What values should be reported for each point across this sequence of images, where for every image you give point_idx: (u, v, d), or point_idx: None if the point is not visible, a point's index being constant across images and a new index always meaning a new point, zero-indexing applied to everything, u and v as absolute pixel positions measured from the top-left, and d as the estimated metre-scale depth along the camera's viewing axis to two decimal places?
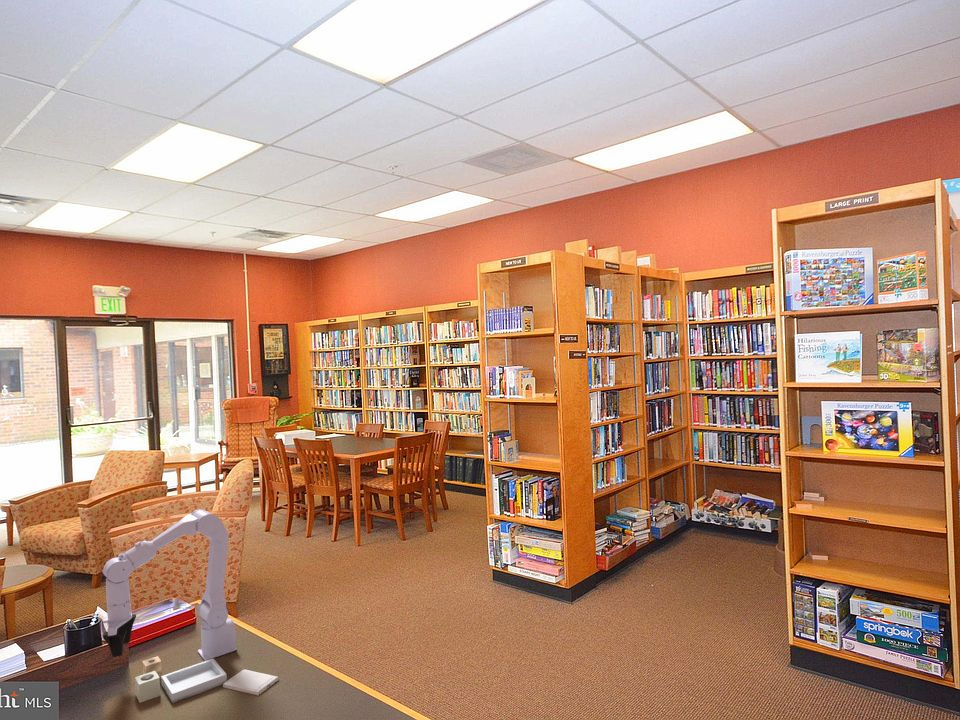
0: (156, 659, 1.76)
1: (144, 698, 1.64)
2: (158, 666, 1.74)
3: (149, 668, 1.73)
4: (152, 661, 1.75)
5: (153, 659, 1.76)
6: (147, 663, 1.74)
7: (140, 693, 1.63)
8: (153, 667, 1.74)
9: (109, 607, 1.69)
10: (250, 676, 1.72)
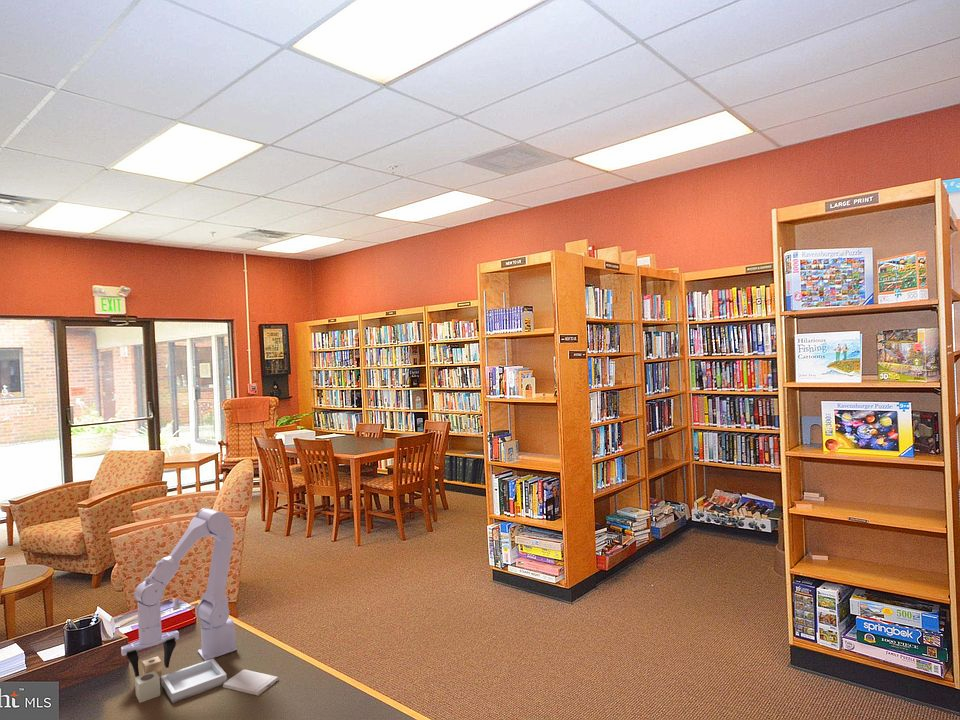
0: (156, 659, 1.76)
1: (144, 698, 1.64)
2: (158, 666, 1.74)
3: (149, 668, 1.73)
4: (152, 661, 1.75)
5: (153, 659, 1.76)
6: (147, 663, 1.74)
7: (140, 693, 1.63)
8: (153, 667, 1.74)
9: None
10: (250, 676, 1.72)
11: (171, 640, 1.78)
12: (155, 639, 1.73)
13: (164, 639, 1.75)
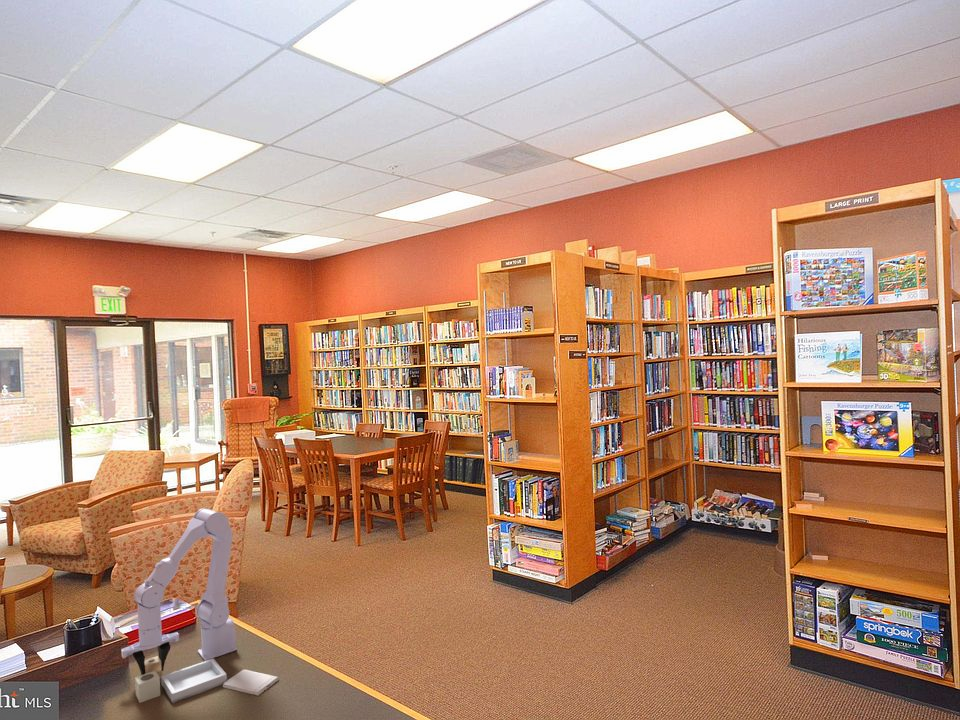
0: (156, 659, 1.76)
1: (144, 698, 1.64)
2: (158, 666, 1.74)
3: (149, 667, 1.73)
4: (152, 661, 1.75)
5: (153, 659, 1.76)
6: (147, 663, 1.74)
7: (140, 693, 1.63)
8: (153, 667, 1.74)
9: None
10: (250, 676, 1.72)
11: None
12: (155, 641, 1.73)
13: (164, 641, 1.75)
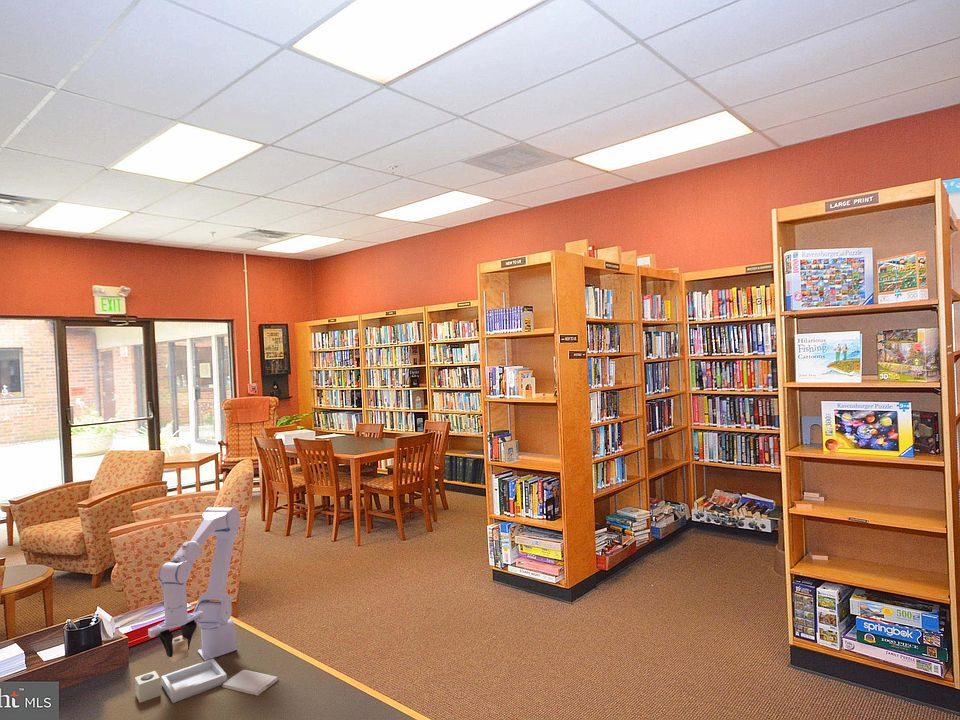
0: (181, 638, 1.73)
1: (144, 698, 1.64)
2: (184, 644, 1.72)
3: (176, 646, 1.70)
4: (178, 640, 1.72)
5: (178, 638, 1.73)
6: (173, 642, 1.71)
7: (140, 693, 1.63)
8: (180, 645, 1.71)
9: None
10: (250, 676, 1.72)
11: (196, 620, 1.76)
12: (183, 619, 1.71)
13: (191, 619, 1.73)
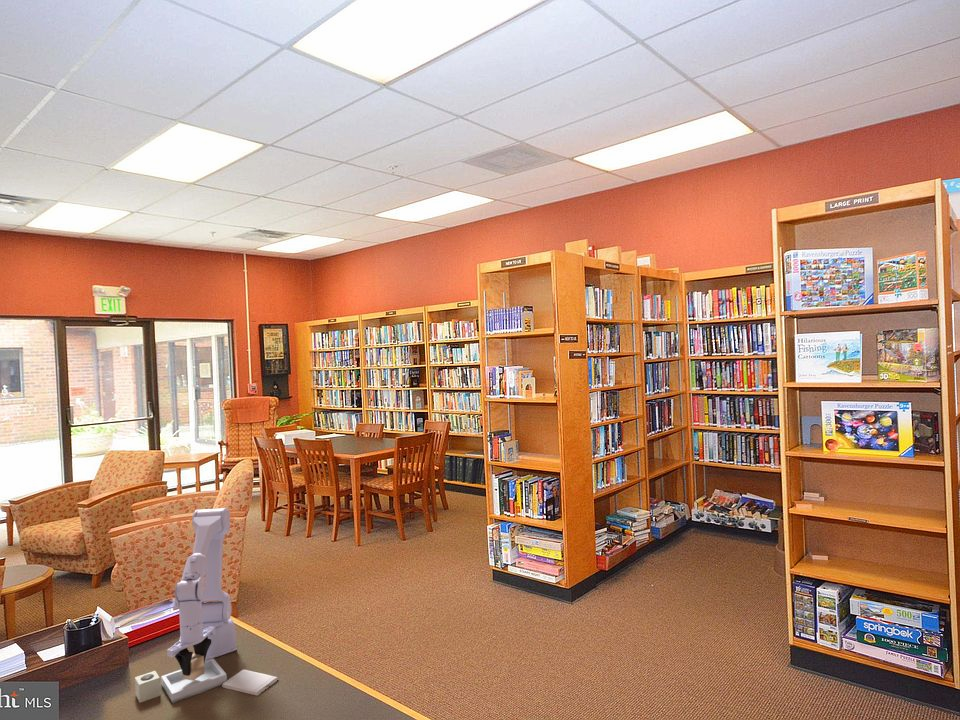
0: (196, 655, 1.72)
1: (144, 698, 1.64)
2: (201, 661, 1.71)
3: (194, 664, 1.69)
4: (193, 657, 1.71)
5: (192, 656, 1.72)
6: None
7: (140, 693, 1.63)
8: (197, 663, 1.70)
9: (180, 626, 1.69)
10: (249, 676, 1.72)
11: (209, 636, 1.75)
12: (201, 635, 1.70)
13: (206, 635, 1.73)
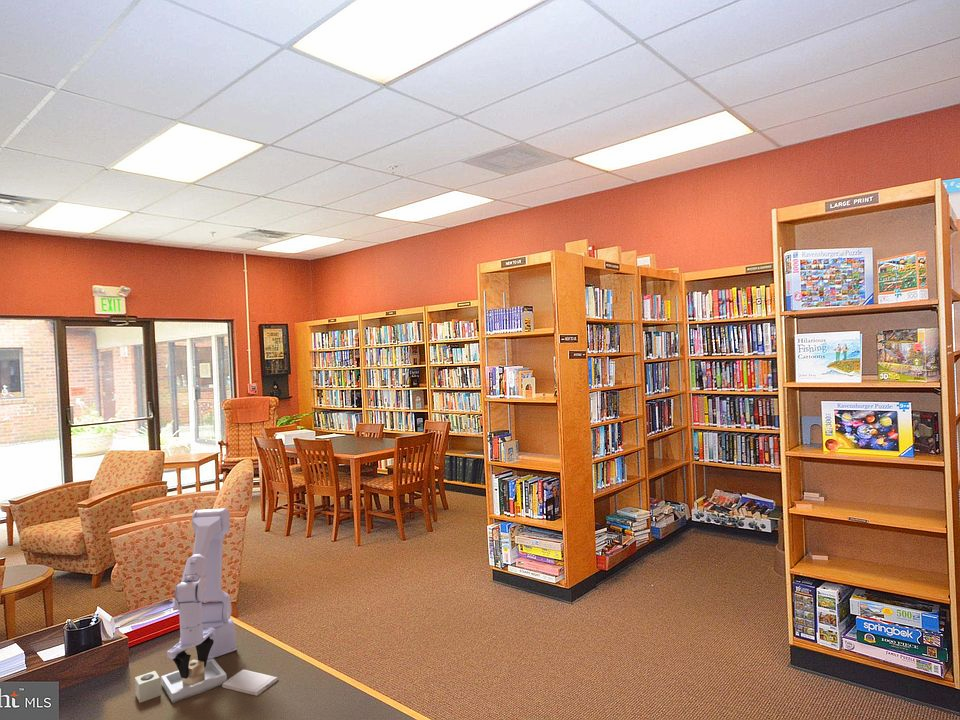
0: (196, 661, 1.72)
1: (144, 698, 1.64)
2: (201, 667, 1.71)
3: (194, 670, 1.69)
4: (194, 664, 1.71)
5: (193, 662, 1.72)
6: (190, 666, 1.70)
7: (140, 693, 1.63)
8: (198, 669, 1.70)
9: (180, 628, 1.69)
10: (249, 676, 1.72)
11: (209, 637, 1.75)
12: (201, 637, 1.70)
13: (206, 636, 1.73)
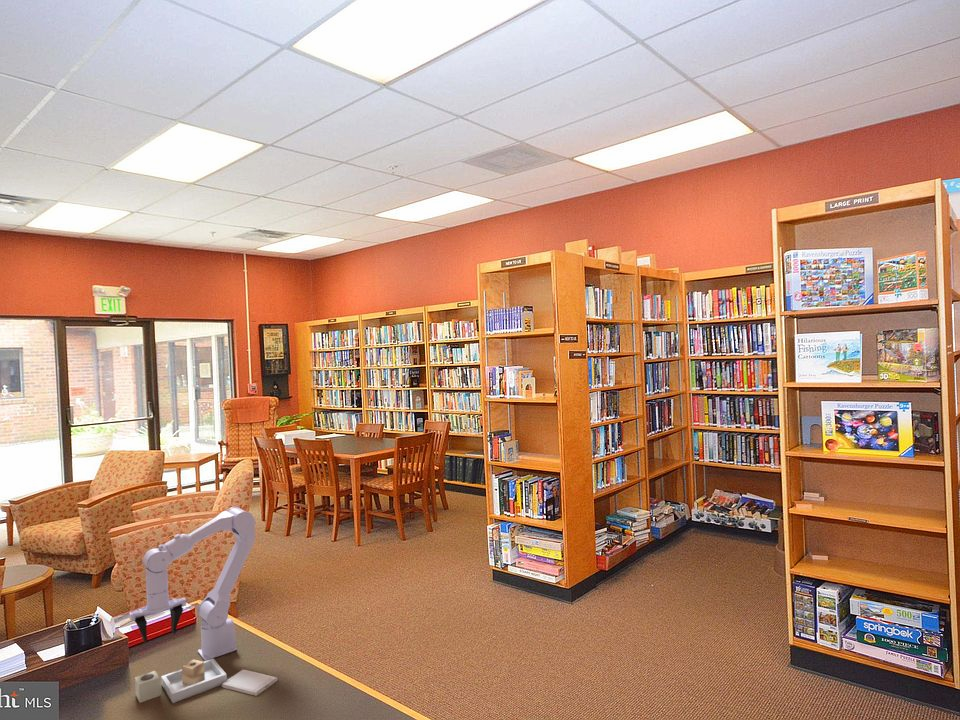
0: (196, 661, 1.72)
1: (144, 698, 1.64)
2: (201, 667, 1.71)
3: (194, 670, 1.69)
4: (194, 664, 1.71)
5: (193, 662, 1.72)
6: (190, 666, 1.70)
7: (140, 693, 1.63)
8: (198, 669, 1.70)
9: None
10: (249, 676, 1.72)
11: (178, 607, 1.81)
12: (163, 605, 1.77)
13: (171, 605, 1.79)
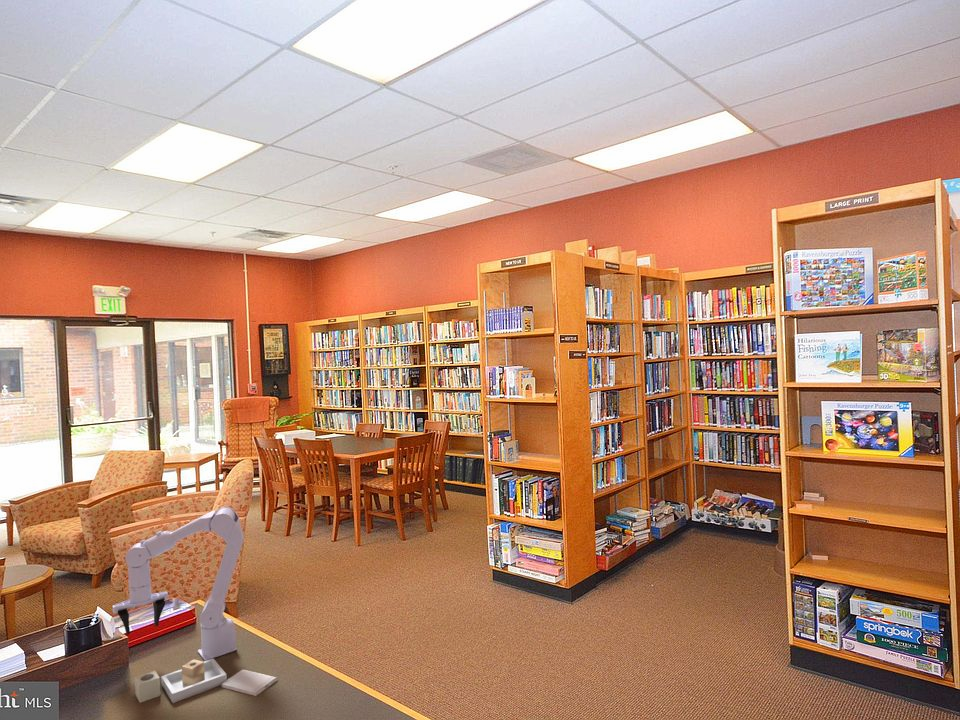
0: (196, 661, 1.72)
1: (144, 698, 1.64)
2: (201, 667, 1.71)
3: (194, 670, 1.69)
4: (194, 664, 1.71)
5: (193, 662, 1.72)
6: (190, 666, 1.70)
7: (140, 693, 1.63)
8: (198, 669, 1.70)
9: None
10: (248, 676, 1.72)
11: (160, 600, 1.86)
12: (145, 598, 1.81)
13: (154, 599, 1.84)
